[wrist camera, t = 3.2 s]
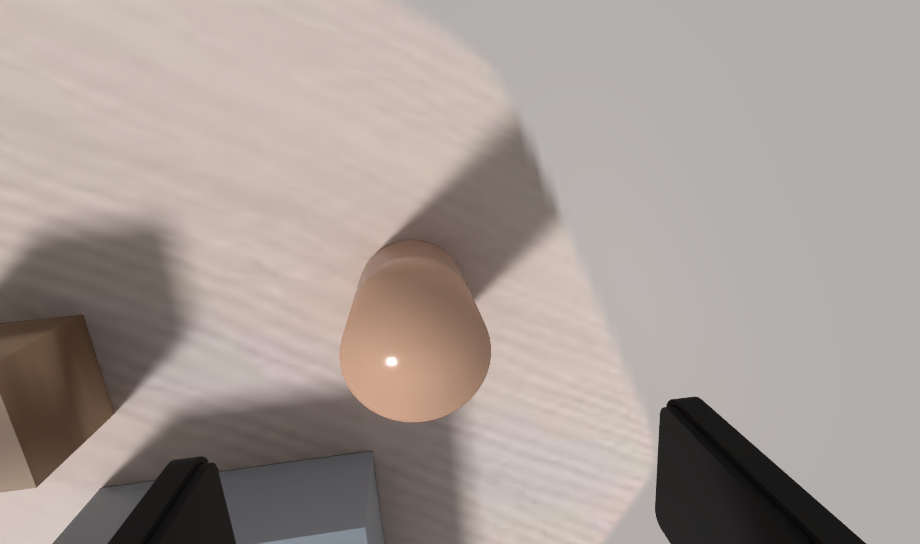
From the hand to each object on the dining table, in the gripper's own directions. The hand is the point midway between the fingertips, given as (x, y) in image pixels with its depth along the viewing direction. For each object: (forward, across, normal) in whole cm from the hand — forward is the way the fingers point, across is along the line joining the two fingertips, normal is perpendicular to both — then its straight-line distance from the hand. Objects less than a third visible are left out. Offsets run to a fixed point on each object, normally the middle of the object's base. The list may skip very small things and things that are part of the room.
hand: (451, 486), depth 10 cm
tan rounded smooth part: (+13, +1, 0) cm, 13 cm away
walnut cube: (+13, +18, +2) cm, 22 cm away
